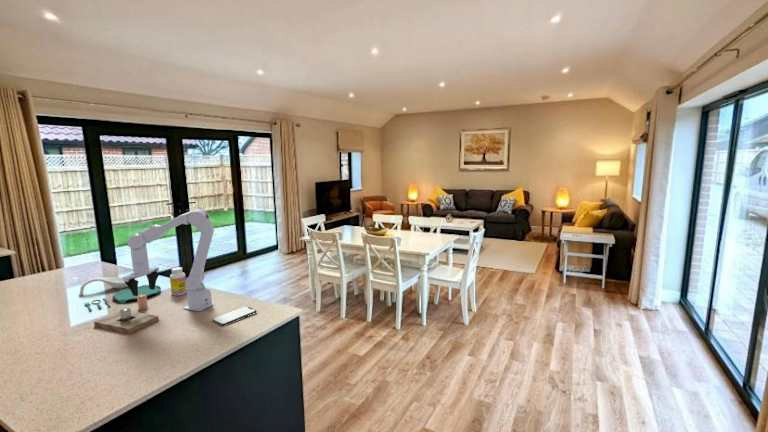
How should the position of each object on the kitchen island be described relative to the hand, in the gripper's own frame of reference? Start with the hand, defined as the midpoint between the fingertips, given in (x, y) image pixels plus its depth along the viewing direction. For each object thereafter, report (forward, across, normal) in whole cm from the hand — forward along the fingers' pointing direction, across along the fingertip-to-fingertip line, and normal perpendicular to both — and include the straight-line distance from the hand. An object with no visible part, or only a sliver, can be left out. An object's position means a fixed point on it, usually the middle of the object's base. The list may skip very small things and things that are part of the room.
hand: (144, 292), depth 156 cm
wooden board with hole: (+9, +10, +2) cm, 14 cm away
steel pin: (+9, +10, +2) cm, 14 cm away
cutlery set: (+10, -10, -26) cm, 30 cm away
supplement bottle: (+10, -22, -6) cm, 25 cm away
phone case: (+10, -9, +40) cm, 42 cm away
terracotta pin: (+9, -3, -6) cm, 12 cm away
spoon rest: (+10, -16, -47) cm, 50 cm away
